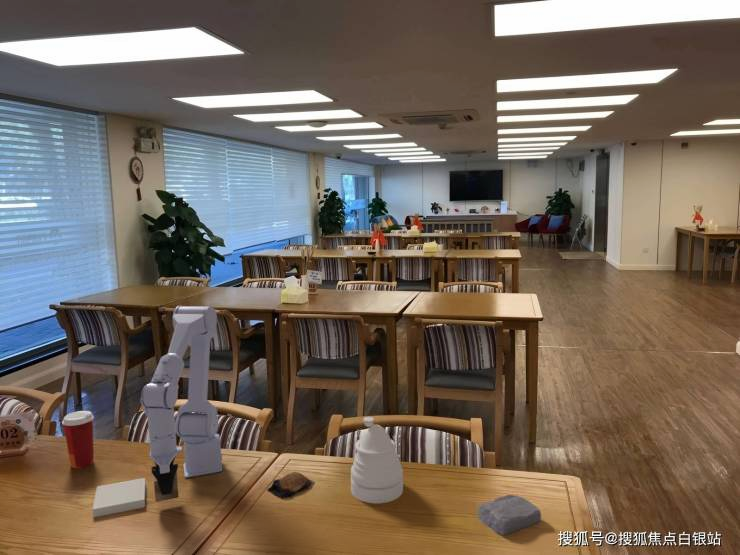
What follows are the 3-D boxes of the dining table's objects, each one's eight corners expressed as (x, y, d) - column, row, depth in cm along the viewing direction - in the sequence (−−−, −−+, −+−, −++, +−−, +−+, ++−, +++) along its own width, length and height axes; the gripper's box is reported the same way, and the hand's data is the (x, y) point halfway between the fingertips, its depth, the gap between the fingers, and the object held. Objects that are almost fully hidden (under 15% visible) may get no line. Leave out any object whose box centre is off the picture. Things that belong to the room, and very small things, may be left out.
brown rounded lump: (295, 475, 146) (295, 462, 146) (317, 485, 141) (317, 472, 140) (263, 491, 138) (262, 477, 138) (285, 503, 133) (285, 488, 132)
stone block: (473, 524, 126) (503, 539, 117) (471, 502, 126) (501, 516, 117) (513, 511, 131) (545, 524, 122) (511, 491, 131) (543, 502, 123)
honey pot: (342, 497, 134) (340, 426, 132) (363, 472, 146) (361, 407, 143) (392, 507, 129) (391, 434, 127) (409, 481, 141) (409, 413, 139)
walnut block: (177, 487, 134) (176, 467, 133) (178, 497, 129) (177, 477, 129) (155, 491, 132) (153, 471, 131) (155, 502, 128) (153, 481, 127)
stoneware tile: (145, 485, 141) (145, 477, 141) (144, 507, 131) (144, 499, 131) (97, 494, 137) (96, 486, 137) (93, 517, 127) (92, 509, 127)
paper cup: (103, 457, 157) (99, 410, 155) (87, 470, 149) (82, 421, 147) (77, 456, 158) (72, 409, 156) (59, 469, 150) (54, 420, 148)
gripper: (182, 442, 123) (186, 499, 125) (179, 418, 137) (183, 470, 139) (147, 448, 121) (152, 506, 123) (148, 423, 134) (152, 475, 136)
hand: (166, 487), depth 130 cm, fingers closed on walnut block, 5 cm apart
